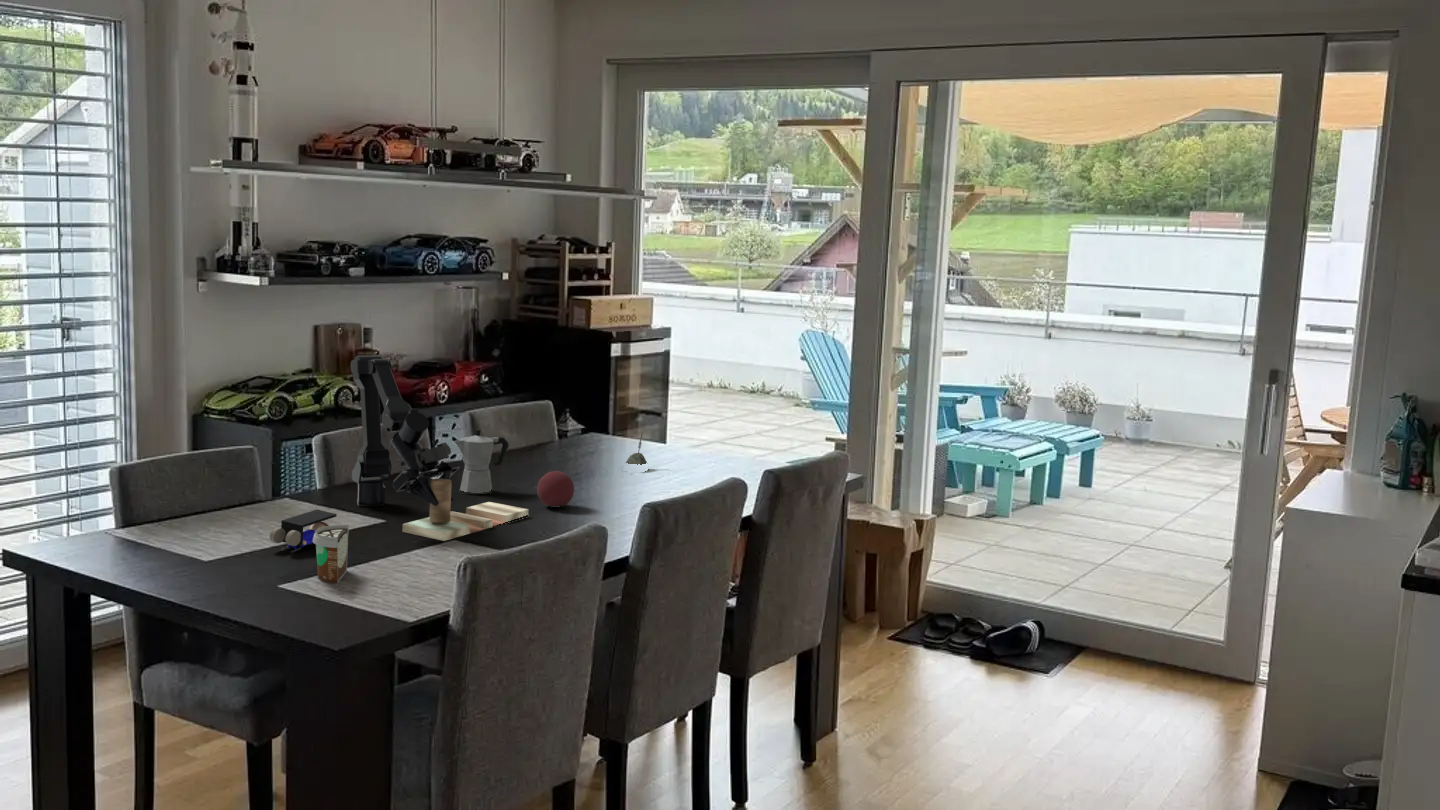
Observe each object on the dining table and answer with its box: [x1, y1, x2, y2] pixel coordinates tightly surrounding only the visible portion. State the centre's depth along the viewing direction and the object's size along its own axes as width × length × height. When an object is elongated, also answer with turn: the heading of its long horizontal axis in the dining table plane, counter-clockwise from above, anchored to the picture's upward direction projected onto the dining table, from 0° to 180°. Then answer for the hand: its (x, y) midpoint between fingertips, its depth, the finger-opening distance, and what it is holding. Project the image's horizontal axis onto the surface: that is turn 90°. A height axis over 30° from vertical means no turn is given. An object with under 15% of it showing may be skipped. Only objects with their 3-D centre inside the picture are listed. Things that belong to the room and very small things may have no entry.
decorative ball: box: [536, 470, 575, 507], centre depth 347 cm, size 10×10×10 cm
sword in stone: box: [625, 431, 648, 465], centre depth 405 cm, size 10×8×12 cm
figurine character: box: [269, 508, 338, 554], centre depth 293 cm, size 7×8×15 cm
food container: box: [312, 524, 350, 584], centre depth 271 cm, size 12×6×10 cm, turn 5°
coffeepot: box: [453, 428, 509, 493], centre depth 360 cm, size 15×9×18 cm, turn 113°
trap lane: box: [402, 501, 529, 542], centre depth 323 cm, size 33×13×2 cm, turn 152°
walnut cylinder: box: [428, 478, 452, 523], centre depth 313 cm, size 5×5×10 cm
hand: (444, 503), depth 312 cm, fingers open, 5 cm apart
